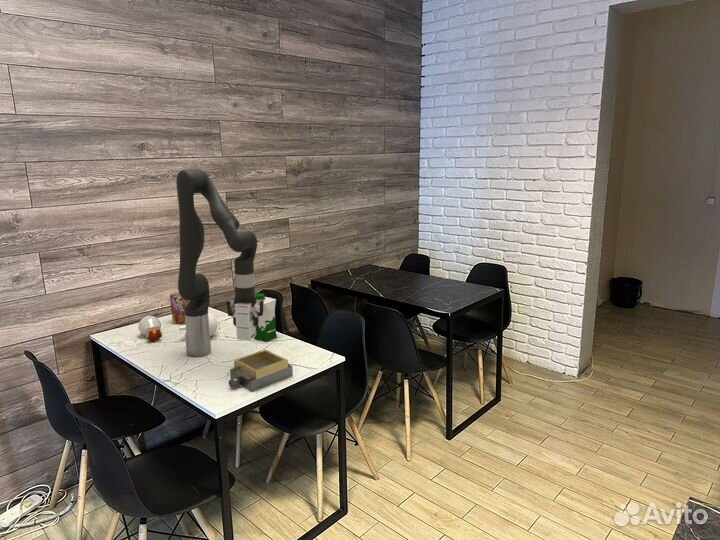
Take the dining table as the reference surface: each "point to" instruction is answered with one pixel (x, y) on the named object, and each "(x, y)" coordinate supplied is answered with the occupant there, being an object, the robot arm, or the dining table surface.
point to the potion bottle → (150, 328)
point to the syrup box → (245, 322)
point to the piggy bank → (212, 324)
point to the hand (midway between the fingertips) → (246, 325)
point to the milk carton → (266, 319)
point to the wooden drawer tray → (259, 370)
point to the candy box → (178, 308)
